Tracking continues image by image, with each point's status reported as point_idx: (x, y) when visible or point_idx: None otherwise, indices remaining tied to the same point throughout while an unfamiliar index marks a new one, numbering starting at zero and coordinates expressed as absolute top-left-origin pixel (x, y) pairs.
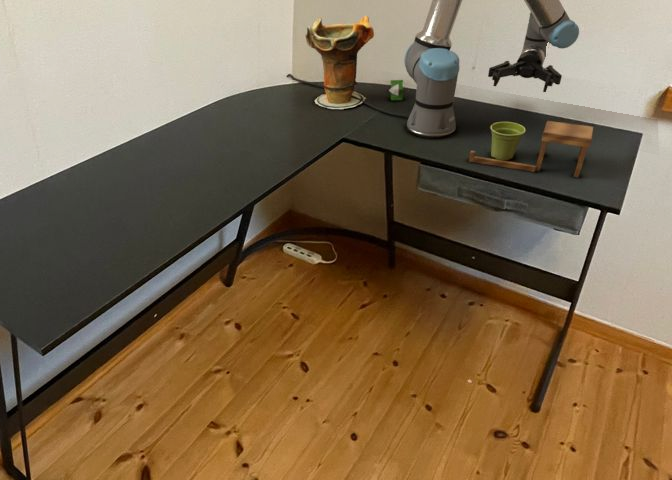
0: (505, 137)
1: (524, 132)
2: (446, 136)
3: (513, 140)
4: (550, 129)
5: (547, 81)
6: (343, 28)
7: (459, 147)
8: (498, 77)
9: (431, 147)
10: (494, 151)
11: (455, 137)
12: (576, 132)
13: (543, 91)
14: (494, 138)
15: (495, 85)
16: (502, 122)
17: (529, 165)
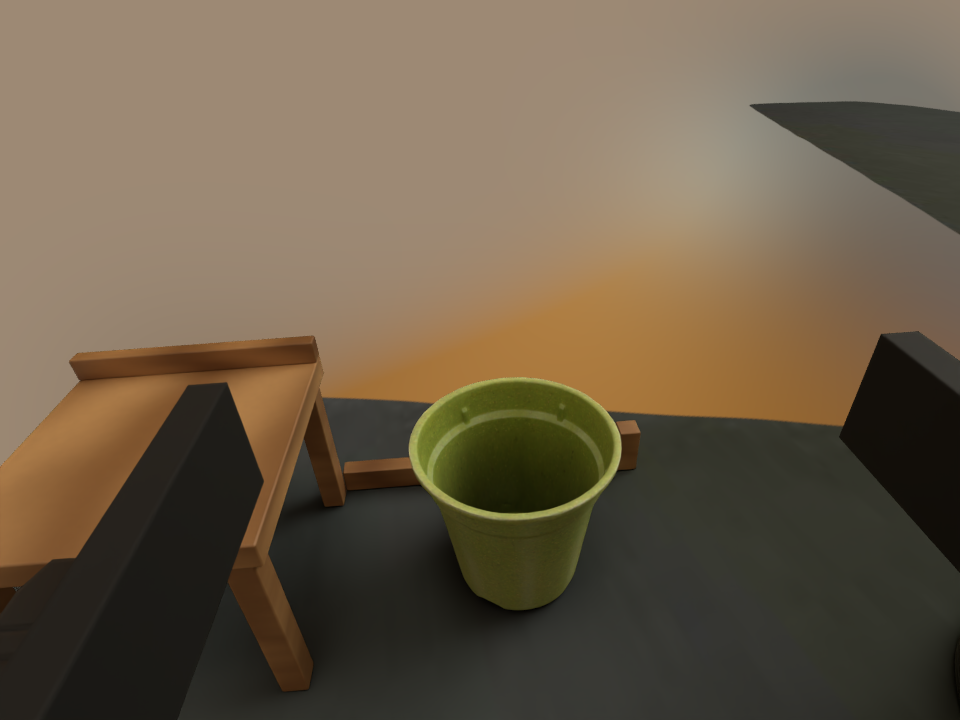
0: (501, 398)
1: (412, 436)
2: (955, 667)
3: (462, 430)
4: (259, 431)
5: (183, 412)
6: None
7: (765, 568)
8: (941, 428)
9: (875, 509)
10: (548, 490)
11: (911, 707)
12: (102, 447)
13: (257, 477)
14: (562, 433)
15: (850, 426)
16: (577, 499)
17: (372, 465)
